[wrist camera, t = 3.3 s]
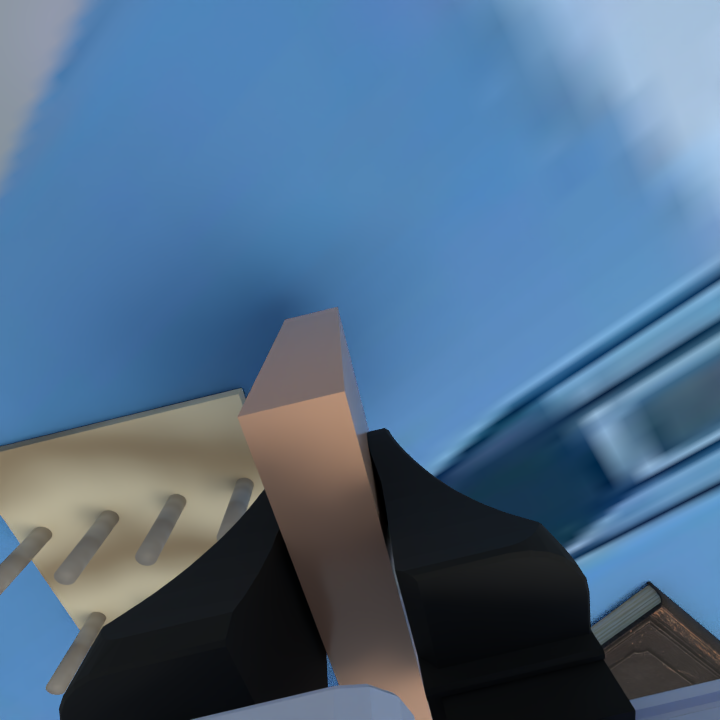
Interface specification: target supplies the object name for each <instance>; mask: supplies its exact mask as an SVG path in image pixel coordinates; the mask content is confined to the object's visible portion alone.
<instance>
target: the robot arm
mask: <svg viewBox="0 0 720 720" xmlns="http://www.w3.org/2000/svg"><path fill="white" fill-rule="evenodd" d="M367 439H368V447H369V451H370V455H371V458H372V462H373V466H374V470H375V474H376V478H377V482H378V486H379V489H380V493H381V497H382V501H383V505H384V509H385V513H386V517H387V520H388V524H389V531H390V537H391V544H392V552H393V559H394V567H395V573H396V576H397V580H398V584H399V588H400V591H401V595H402V599H403V603H404V606H405V610H406V614H407V618H408V622H409V625H410V629H411V633H412V637H413V640H414V644H415V648H416V652H417V656H418V661H419V666H420V671H421V676H422V681H423V686H424V690H425V695H426V699H427V701H428V704H429V708H430V712H431V715H432V720H720V679H718V680H713V681H709V682H705V683H701V684H696V685H692V686H688V687H683V688H679V689H675V690H671V691H666V692H662V693H658V694H654V695H649V696H645V697H641V698H636V699H632V700H629V699H628V697H627V696H626V694H625V693H624V691H623V690H622V688H621V686H620V685H619V683H618V682H617V680H616V678H615V677H614V675H613V674H612V672H611V670H610V669H609V667H608V666H607V664H606V663H605V661H604V659H605V653H604V650H603V648H602V646H601V644H600V643H599V641H598V640H597V638H596V637H595V635H594V634H593V632H592V630H591V623H590V596H589V588H588V584H587V579H586V577H585V576H584V574H583V573H582V571H581V570H580V568H579V566H578V565H577V563H576V562H575V561H574V559H573V558H572V557H571V556H570V554H569V553H568V552H567V551H566V550H565V548H564V547H563V546H562V545H561V544H560V543H559V542H558V541H557V540H556V539H555V538H554V537H553V536H552V535H551V534H550V533H549V531H548V530H547V529H546V528H545V527H544V526H543V525H542V524H540V523H539V522H535V521H532V520H529V519H525V518H522V517H518V516H515V515H512V514H508V513H505V512H502V511H499V510H497V509H494V508H492V507H489V506H487V505H484V504H482V503H480V502H477V501H475V500H473V499H471V498H469V497H467V496H465V495H463V494H461V493H459V492H457V491H456V490H454V489H452V488H451V487H449V486H447V485H446V484H444V483H443V482H441V481H440V480H438V479H437V478H436V477H434V476H433V475H432V474H430V473H429V472H428V471H426V470H425V469H424V468H423V467H422V466H420V465H419V464H418V463H417V462H416V461H415V460H414V459H413V458H412V457H411V456H410V455H408V454H407V453H406V452H405V451H404V450H403V448H402V447H401V446H400V445H399V444H398V443H397V442H396V440H395V439H394V438H393V437H392V435H391V434H390V432H389V430H387V429H385V428H383V429H379V430H374V431H370V432H367ZM59 713H60V720H415V718H414V715H413V714H412V713H411V711H410V710H409V709H408V708H407V706H406V705H405V704H404V703H403V701H402V700H401V699H400V698H399V697H398V696H397V695H395V694H394V693H392V692H389V691H386V690H383V689H380V688H377V687H375V686H372V685H369V684H356V685H338V686H332V687H328V679H327V659H326V650H325V647H324V644H323V642H322V639H321V636H320V634H319V631H318V628H317V626H316V623H315V621H314V618H313V615H312V613H311V610H310V607H309V605H308V602H307V599H306V597H305V594H304V592H303V589H302V586H301V584H300V581H299V578H298V576H297V573H296V570H295V568H294V565H293V563H292V560H291V557H290V555H289V552H288V549H287V547H286V544H285V541H284V539H283V536H282V534H281V531H280V528H279V526H278V523H277V520H276V518H275V515H274V512H273V510H272V507H271V505H270V502H269V499H268V497H267V494H266V491H265V489H264V490H263V491H262V493H261V494H260V495H259V496H258V498H257V499H256V500H255V501H254V502H253V504H252V505H251V506H250V507H249V509H248V510H247V511H246V512H245V513H244V515H243V516H242V517H241V518H240V519H239V520H238V521H237V522H236V523H235V524H234V525H233V527H232V528H231V529H230V530H229V531H228V532H227V533H226V534H225V535H224V536H223V537H222V538H221V539H220V540H219V541H217V542H216V543H215V544H214V545H213V546H212V547H211V548H210V549H208V550H207V551H206V552H205V553H204V554H203V555H202V556H201V557H199V558H198V559H197V560H196V561H195V562H194V563H193V564H191V565H190V566H189V567H188V568H187V569H185V570H184V571H183V572H182V573H180V574H179V575H178V576H176V577H175V578H174V579H173V580H171V581H170V582H169V583H167V584H166V585H164V586H163V587H162V588H160V589H159V590H158V591H156V592H155V593H154V594H152V595H151V596H149V597H148V598H146V599H145V600H143V601H142V602H140V603H139V604H137V605H136V606H134V607H133V608H131V609H130V610H128V611H127V612H125V613H124V614H122V615H120V616H119V617H117V618H116V619H114V620H113V621H111V622H110V623H108V624H106V625H105V626H103V627H102V629H101V630H100V632H99V634H98V636H97V637H96V639H95V641H94V643H93V644H92V646H91V648H90V650H89V651H88V653H87V655H86V657H85V658H84V660H83V662H82V664H81V665H80V667H79V669H78V671H77V672H76V674H75V676H74V678H73V680H72V681H71V683H70V685H69V687H68V688H67V690H66V692H65V694H64V695H63V698H62V701H61V704H60V707H59Z"/></svg>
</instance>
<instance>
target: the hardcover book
mask: <svg viewBox="0 0 720 720" xmlns="http://www.w3.org/2000/svg"><path fill="white" fill-rule="evenodd" d="M647 584H648V585H647V586H646V587H645V588H643V589H642V590H641V591H639V592H638V593H636V594H635V595H634V596H632V597H631V598H630V599H628V600H627V601H626V602H624V603H623V604H622V605H620V606H619V607H618V608H616V609H615V610H614V611H612V612H611V613H610V614H608V615H607V616H605V617H604V618H603V619H601V620H600V621H599V622H597V623H596V624H595V625H593V626H592V627H591V630H592V632H593V634H594V635H595V637H596V638H597V640H598V641H599V643H600V644H601V646H602V648H603V650H604V653H605V659H604V661H605V663H606V664H607V666H608V667H609V669H610V670H611V672H612V674H613V675H614V677H615V678H616V680H617V682H618V683H619V685H620V686H621V688H622V690H623V691H624V693H625V694H626V696H627V697H628V699H629V700H632V699H636V698H641V697H645V696H649V695H654V694H658V693H662V692H666V691H671V690H675V689H679V688H683V687H688V686H692V685H696V684H701V683H705V682H709V681H713V680H718V679H720V641H719V640H718V639H717V638H716V637H715V636H713V635H712V634H711V633H710V632H709V631H707V630H706V629H705V628H704V627H703V626H702V625H700V624H699V623H698V622H697V621H696V620H694V619H693V618H692V617H691V616H690V615H688V614H687V613H686V612H685V611H684V610H683V609H681V608H680V607H679V606H678V605H677V604H675V603H674V602H673V601H672V600H671V599H669V598H668V597H667V596H666V595H665V594H664V593H662V592H661V591H660V590H659V589H658V588H656V587H655V586H654V585H653V584H652V583H650V582H647Z"/></svg>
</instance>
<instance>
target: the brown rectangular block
mask: <svg viewBox="0 0 720 720" xmlns="http://www.w3.org/2000/svg"><path fill="white" fill-rule="evenodd" d="M237 418H238V420H239V423H240V426H241V428H242V431H243V433H244V436H245V439H246V441H247V444H248V447H249V449H250V452H251V455H252V457H253V460H254V462H255V465H256V468H257V470H258V473H259V476H260V478H261V481H262V484H263V486H264V489H265V491H266V494H267V497H268V499H269V502H270V505H271V507H272V510H273V512H274V515H275V518H276V520H277V523H278V526H279V528H280V531H281V534H282V536H283V539H284V541H285V544H286V547H287V549H288V552H289V555H290V557H291V560H292V563H293V565H294V568H295V570H296V573H297V576H298V578H299V581H300V584H301V586H302V589H303V592H304V594H305V597H306V599H307V602H308V605H309V607H310V610H311V613H312V615H313V618H314V621H315V623H316V626H317V628H318V631H319V634H320V636H321V639H322V642H323V644H324V647H325V650H326V652H327V655H328V657H329V660H330V663H331V665H332V668H333V671H334V673H335V676H336V679H337V681H338V684H339V685H356V684H369V685H372V686H375V687H377V688H380V689H383V690H386V691H389V692H392V693H394V694H395V695H397V696H398V697H399V698H400V699H401V700H402V701H403V703H404V704H405V705H406V706H407V708H408V709H409V710H410V711H411V713H412V714H413V715H414V718H415V720H432V715H431V712H430V708H429V704H428V701H427V699H426V695H425V690H424V686H423V681H422V676H421V671H420V666H419V661H418V656H417V652H416V648H415V644H414V640H413V637H412V633H411V629H410V625H409V622H408V618H407V614H406V610H405V606H404V603H403V599H402V595H401V591H400V588H399V584H398V580H397V576H396V573H395V567H394V559H393V552H392V544H391V537H390V531H389V524H388V520H387V517H386V513H385V509H384V505H383V501H382V497H381V493H380V489H379V486H378V482H377V478H376V474H375V470H374V466H373V462H372V458H371V455H370V451H369V447H368V439H367V432H369V429H368V425H367V421H366V417H365V413H364V409H363V405H362V401H361V397H360V393H359V389H358V386H357V382H356V378H355V374H354V370H353V366H352V362H351V358H350V354H349V350H348V346H347V342H346V338H345V334H344V330H343V326H342V322H341V318H340V314H339V310H338V307H335V308H331V309H326V310H322V311H318V312H314V313H310V314H306V315H302V316H298V317H293V318H289V319H285V321H284V323H283V325H282V327H281V329H280V331H279V333H278V335H277V337H276V339H275V341H274V343H273V345H272V347H271V349H270V351H269V353H268V355H267V357H266V360H265V362H264V364H263V366H262V368H261V370H260V372H259V374H258V376H257V378H256V380H255V382H254V384H253V386H252V388H251V390H250V392H249V394H248V396H247V398H246V400H245V402H244V404H243V406H242V408H241V410H240V413H239V415H238V417H237Z"/></svg>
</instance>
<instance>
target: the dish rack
mask: <svg viewBox="0 0 720 720" xmlns="http://www.w3.org/2000/svg"><path fill="white" fill-rule="evenodd" d="M245 400H246V398H245V395H244V392H243V390H242V388H239V389H235V390H231V391H227V392H223V393H219V394H215V395H211V396H206V397H202V398H198V399H194V400H190V401H186V402H182V403H178V404H174V405H169V406H165V407H161V408H157V409H153V410H149V411H145V412H141V413H137V414H132V415H128V416H124V417H120V418H116V419H112V420H108V421H104V422H99V423H95V424H91V425H87V426H83V427H79V428H75V429H71V430H67V431H62V432H58V433H54V434H50V435H46V436H42V437H38V438H34V439H30V440H25V441H21V442H17V443H13V444H9V445H5V446H1V447H0V515H1V516H2V518H3V519H4V520H5V522H6V523H7V525H8V526H9V528H10V529H11V531H12V532H13V534H14V535H15V536H16V538H17V539H18V541H19V542H20V545H19V546H18V547H17V548H16V549H15V550H14V551H13V552H12V553H11V554H10V555H9V556H8V557H7V558H6V559H5V560H4V561H3V562H2V563H1V564H0V595H1V594H2V592H3V591H4V590H5V589H6V588H7V587H8V586H9V585H10V583H11V582H12V581H13V580H14V579H15V578H16V577H17V576H18V575H19V573H20V572H21V571H22V570H23V569H24V568H25V567H26V566H27V564H28V563H29V562H30V561H31V560H32V561H33V563H34V564H35V566H36V567H37V568H38V570H39V571H40V573H41V574H42V576H43V577H44V579H45V580H46V582H47V583H48V584H49V586H50V587H51V589H52V590H53V592H54V593H55V595H56V596H57V598H58V599H59V600H60V602H61V603H62V605H63V606H64V608H65V609H66V611H67V612H68V614H69V615H70V616H71V618H72V619H73V621H74V622H75V624H76V625H77V627H78V628H79V630H80V632H79V634H78V635H77V637H76V639H75V640H74V642H73V643H72V645H71V647H70V648H69V650H68V652H67V653H66V655H65V656H64V658H63V660H62V661H61V663H60V665H59V666H58V668H57V669H56V671H55V673H54V674H53V676H52V677H51V679H50V681H49V682H48V684H47V686H46V690H47V691H48V692H49V693H51V694H54V695H60V694H63V693H64V692H65V691H66V689H67V687H68V686H69V684H70V682H71V680H72V679H73V677H74V675H75V673H76V672H77V670H78V668H79V666H80V665H81V663H82V661H83V659H84V658H85V656H86V654H87V652H88V651H89V649H90V647H91V646H92V644H93V643H94V641H95V639H96V637H97V636H98V634H99V632H100V630H101V629H102V627H103V626H105V625H106V624H108V623H110V622H111V621H113V620H114V619H116V618H117V617H119V616H120V615H122V614H124V613H125V612H127V611H128V610H130V609H131V608H133V607H134V606H136V605H137V604H139V603H140V602H142V601H143V600H145V599H146V598H148V597H149V596H151V595H152V594H154V593H155V592H156V591H158V590H159V589H160V588H162V587H163V586H164V585H166V584H167V583H169V582H170V581H171V580H173V579H174V578H175V577H176V576H178V575H179V574H180V573H182V572H183V571H184V570H185V569H187V568H188V567H189V566H190V565H191V564H193V563H194V562H195V561H196V560H197V559H198V558H199V557H201V556H202V555H203V554H204V553H205V552H206V551H207V550H208V549H210V548H211V547H212V546H213V545H214V544H215V543H216V542H217V541H219V540H220V539H221V538H222V537H223V536H224V535H225V534H226V533H227V532H228V531H229V530H230V529H231V528H232V527H233V525H234V524H235V523H236V522H237V521H238V520H239V519H240V518H241V517H242V516H243V515H244V513H245V512H246V511H247V510H248V509H249V507H250V506H251V505H252V504H253V502H254V501H255V500H256V499H257V498H258V496H259V495H260V494H261V493H262V491H263V490H264V486H263V484H262V481H261V478H260V476H259V473H258V470H257V468H256V465H255V462H254V460H253V457H252V455H251V452H250V449H249V447H248V444H247V441H246V439H245V436H244V433H243V431H242V428H241V426H240V423H239V420H238V418H237V417H238V415H239V413H240V410H241V408H242V406H243V404H244V402H245Z"/></svg>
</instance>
